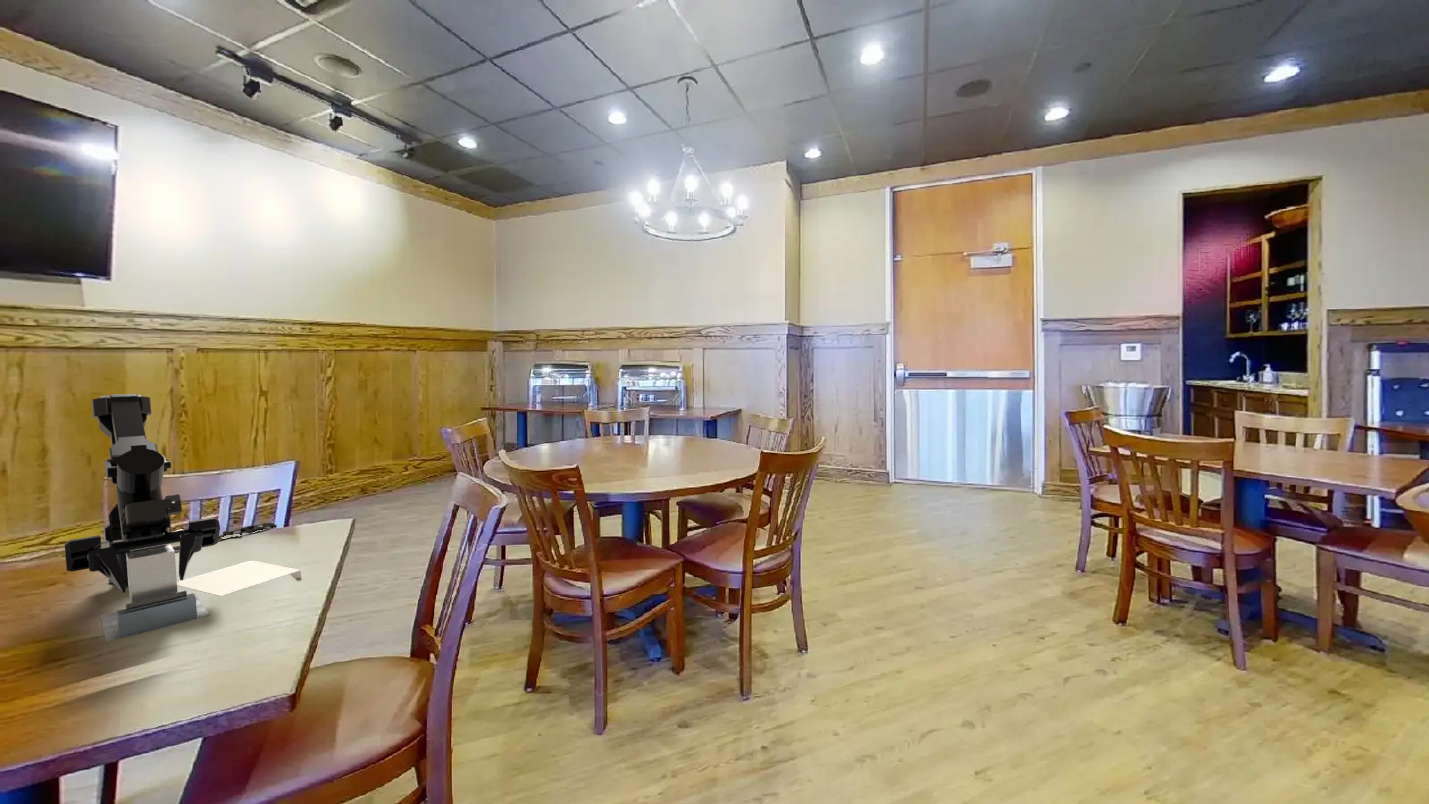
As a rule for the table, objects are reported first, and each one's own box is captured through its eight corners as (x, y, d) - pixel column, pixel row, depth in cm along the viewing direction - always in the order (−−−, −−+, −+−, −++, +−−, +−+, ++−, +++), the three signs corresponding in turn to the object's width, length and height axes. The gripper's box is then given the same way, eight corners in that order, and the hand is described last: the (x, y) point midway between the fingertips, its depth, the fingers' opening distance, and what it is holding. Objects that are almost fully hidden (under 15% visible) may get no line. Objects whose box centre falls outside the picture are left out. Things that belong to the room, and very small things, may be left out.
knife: (158, 559, 130) (158, 553, 130) (145, 555, 133) (144, 549, 133) (281, 529, 153) (281, 524, 153) (267, 526, 155) (267, 521, 155)
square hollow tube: (130, 616, 96) (126, 552, 95) (174, 605, 100) (170, 544, 99) (133, 625, 93) (128, 559, 92) (179, 614, 97) (174, 551, 96)
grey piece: (101, 623, 96) (98, 588, 96) (196, 601, 106) (194, 569, 105) (106, 651, 87) (103, 612, 87) (210, 623, 96) (207, 588, 96)
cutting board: (171, 591, 110) (170, 583, 110) (252, 566, 123) (251, 560, 123) (221, 603, 104) (221, 595, 104) (301, 577, 117) (300, 570, 117)
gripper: (60, 491, 90) (67, 576, 84) (214, 473, 104) (231, 545, 98) (63, 530, 96) (70, 612, 90) (209, 508, 110) (224, 578, 104)
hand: (153, 585), depth 95 cm, fingers open, 7 cm apart
